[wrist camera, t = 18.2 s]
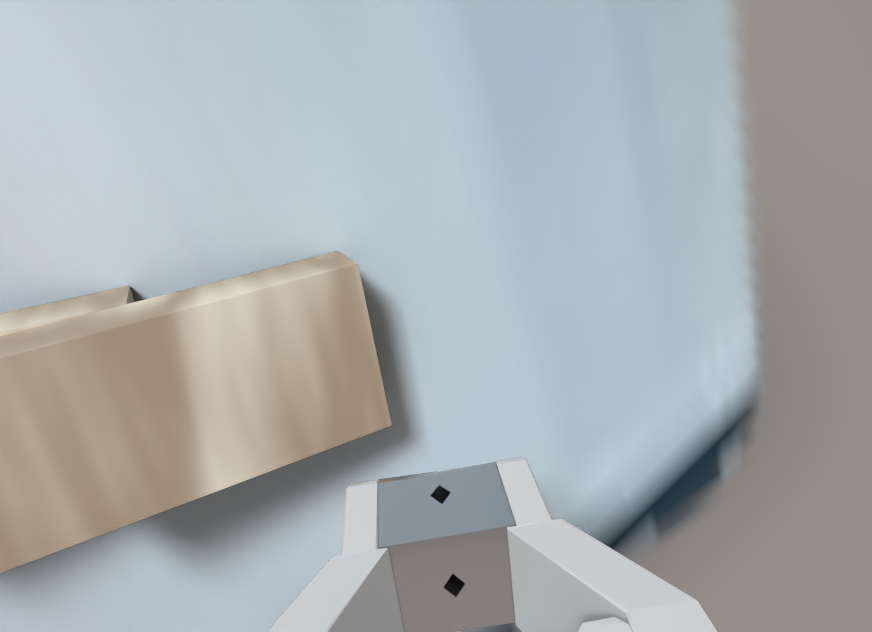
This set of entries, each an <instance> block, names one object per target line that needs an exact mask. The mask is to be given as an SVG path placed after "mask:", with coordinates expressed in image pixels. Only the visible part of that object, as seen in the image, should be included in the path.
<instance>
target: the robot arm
mask: <svg viewBox="0 0 872 632" xmlns="http://www.w3.org/2000/svg"><path fill="white" fill-rule="evenodd" d="M509 623H516V626H517V627H518V628H519V629H520V630H521V631H522V632H717V631H716V629H715V627H714V626H713V624H712V623H711V621H710V620H709V618H708V616H707V615H706V613H705V612H704V610H703V609H702V607H701V606H700V604H699V603H698V601H697V600H696V599H694V598H692V597H691V596H689V595H687V594H686V593H684V592H682V591H680V590H679V589H677V588H675V587H674V586H672V585H670V584H669V583H667V582H666V581H664V580H662V579H661V578H659V577H658V576H656V575H654V574H652V573H651V572H649V571H647V570H646V569H644V568H642V567H641V566H639V565H638V564H636V563H634V562H633V561H631V560H629V559H628V558H626V557H624V556H623V555H621V554H619V553H618V552H616V551H614V550H613V549H611V548H610V547H608V546H606V545H605V544H603V543H601V542H600V541H598V540H596V539H595V538H593V537H591V536H590V535H588V534H586V533H585V532H583V531H581V530H580V529H578V528H576V527H575V526H573V525H571V524H570V523H568V522H566V521H565V520H563V519H555V520H552V517H551V515H550V513H549V510H548V508H547V506H546V503H545V501H544V499H543V496H542V494H541V492H540V489H539V487H538V485H537V482H536V480H535V478H534V475H533V473H532V471H531V468H530V466H529V464H528V461H527V459H526V458H525V457H524V456H519V457H514V458H509V459H503V460H498V461H494V462H493V463H487V464H481V465H475V466H469V467H463V468H457V469H451V470H445V471H439V472H437V471H435V472H428V473H421V474H414V475H407V476H399V477H392V478H385V479H379V481H378V480H372V481H365V482H359V483H353V484H349V485H348V487H347V489H346V496H345V508H344V520H343V533H342V545H341V555H340V556H334V557H331V558H330V559H329V560H328V562H327V563H326V564H325V565H324V566H323V567H322V569H321V570H320V571H319V572H318V573H317V574H316V576H315V577H314V578H313V579H312V580H311V581H310V583H309V584H308V585H307V586H306V587H305V588H304V590H303V591H302V592H301V593H300V594H299V595H298V597H297V598H296V599H295V600H294V601H293V602H292V604H291V605H290V606H289V607H288V608H287V609H286V611H285V612H284V613H283V614H282V615H281V616H280V618H279V619H278V620H277V621H276V622H275V623H274V625H273V626H272V627H271V628H270V629H269V630H268V632H456V631H461V630H468V629H475V628H481V627H488V626H495V625H502V624H509ZM460 628H461V629H460Z"/></svg>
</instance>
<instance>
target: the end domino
mask: <svg viewBox="0 0 872 632" xmlns="http://www.w3.org/2000/svg"><path fill="white" fill-rule="evenodd" d="M389 426H392V424H391V419H390V415H389V410H388V405H387V400H386V395H385V391H384V386H383V381H382V376H381V372H380V367H379V362H378V357H377V353H376V348H375V343H374V338H373V334H372V329H371V324H370V319H369V314H368V310H367V305H366V300H365V295H364V291H363V286H362V281H361V276H360V272H359V267H358V264H357V263H356V262H354V261H353V260H351V259H349V258H348V257H346V256H345V255H343V254H342V253H340V252H339V251H335V252H331V253H327V254H323V255H320V256H316V257H312V258H308V259H304V260H300V261H296V262H292V263H288V264H284V265H280V266H276V267H272V268H268V269H264V270H260V271H256V272H252V273H248V274H244V275H240V276H236V277H232V278H228V279H224V280H220V281H216V282H212V283H208V284H205V285H201V286H197V287H193V288H189V289H185V290H181V291H177V292H173V293H169V294H165V295H161V296H157V297H153V298H149V299H145V300H141V301H137V302H133V303H129V304H125V305H121V306H117V307H113V308H109V309H105V310H101V311H97V312H94V313H90V314H86V315H82V316H78V317H74V318H70V319H66V320H62V321H58V322H54V323H50V324H46V325H42V326H38V327H34V328H30V329H26V330H22V331H18V332H14V333H10V334H6V335H2V336H0V573H2V572H4V571H7V570H10V569H12V568H15V567H18V566H20V565H23V564H26V563H28V562H31V561H34V560H36V559H39V558H42V557H44V556H47V555H49V554H52V553H55V552H57V551H60V550H63V549H65V548H68V547H71V546H73V545H76V544H79V543H81V542H84V541H87V540H89V539H92V538H95V537H97V536H100V535H103V534H105V533H108V532H110V531H113V530H116V529H118V528H121V527H124V526H126V525H129V524H132V523H134V522H137V521H140V520H142V519H145V518H148V517H150V516H153V515H156V514H158V513H161V512H164V511H166V510H169V509H172V508H174V507H177V506H179V505H182V504H185V503H187V502H190V501H193V500H195V499H198V498H201V497H203V496H206V495H209V494H211V493H214V492H217V491H219V490H222V489H225V488H227V487H230V486H233V485H235V484H238V483H240V482H243V481H246V480H248V479H251V478H254V477H256V476H259V475H262V474H264V473H267V472H270V471H272V470H275V469H278V468H280V467H283V466H286V465H288V464H291V463H294V462H296V461H299V460H301V459H304V458H307V457H309V456H312V455H315V454H317V453H320V452H323V451H325V450H328V449H331V448H333V447H336V446H339V445H341V444H344V443H347V442H349V441H352V440H355V439H357V438H360V437H363V436H365V435H368V434H370V433H373V432H376V431H378V430H381V429H384V428H386V427H389Z"/></svg>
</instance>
